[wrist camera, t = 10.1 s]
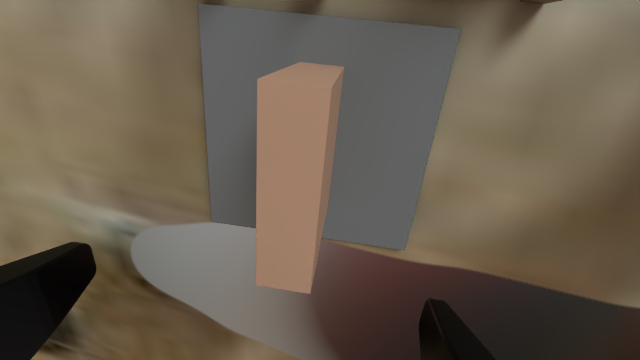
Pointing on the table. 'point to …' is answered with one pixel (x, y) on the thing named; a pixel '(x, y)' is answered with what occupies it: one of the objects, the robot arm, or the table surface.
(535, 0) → the walnut rack
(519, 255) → the table surface
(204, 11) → the charcoal mat
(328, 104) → the terracotta board
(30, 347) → the robot arm
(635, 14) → the table surface
